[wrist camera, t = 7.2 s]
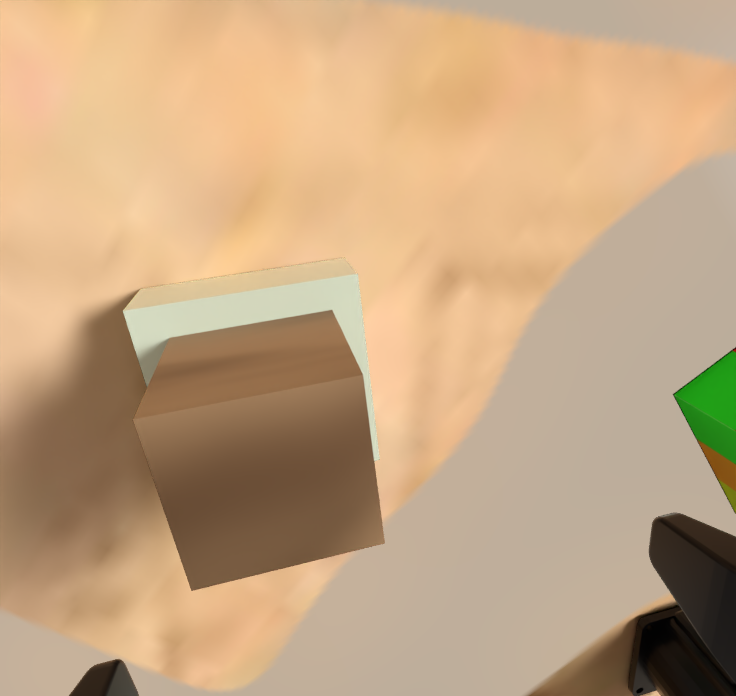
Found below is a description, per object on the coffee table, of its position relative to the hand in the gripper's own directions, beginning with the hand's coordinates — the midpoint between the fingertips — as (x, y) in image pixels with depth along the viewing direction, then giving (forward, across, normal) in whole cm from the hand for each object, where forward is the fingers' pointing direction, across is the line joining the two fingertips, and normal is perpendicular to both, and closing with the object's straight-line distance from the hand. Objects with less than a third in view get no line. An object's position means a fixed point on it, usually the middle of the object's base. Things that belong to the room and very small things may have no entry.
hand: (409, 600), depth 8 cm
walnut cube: (+9, +2, 0) cm, 10 cm away
